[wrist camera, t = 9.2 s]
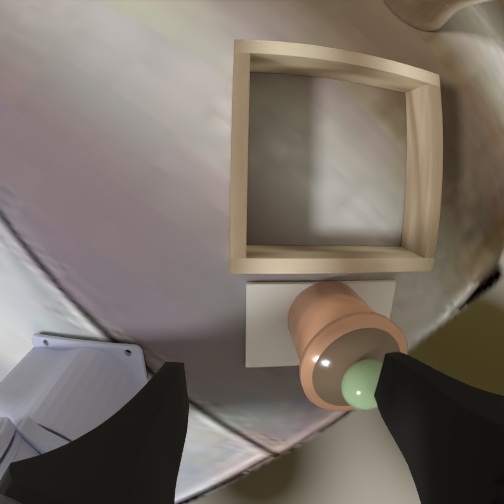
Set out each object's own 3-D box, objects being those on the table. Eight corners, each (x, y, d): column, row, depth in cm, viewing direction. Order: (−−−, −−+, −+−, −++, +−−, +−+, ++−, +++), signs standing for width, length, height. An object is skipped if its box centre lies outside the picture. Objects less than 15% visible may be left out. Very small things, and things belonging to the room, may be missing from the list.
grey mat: (245, 364, 20) (245, 367, 20) (246, 282, 19) (246, 284, 19) (379, 354, 21) (381, 357, 21) (393, 279, 20) (396, 281, 19)
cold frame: (230, 258, 18) (229, 273, 16) (233, 59, 16) (234, 39, 13) (408, 258, 19) (432, 270, 16) (414, 84, 16) (439, 75, 14)
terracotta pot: (280, 356, 20) (305, 451, 12) (284, 277, 19) (322, 353, 10) (358, 349, 20) (411, 430, 12) (369, 274, 19) (445, 336, 11)
